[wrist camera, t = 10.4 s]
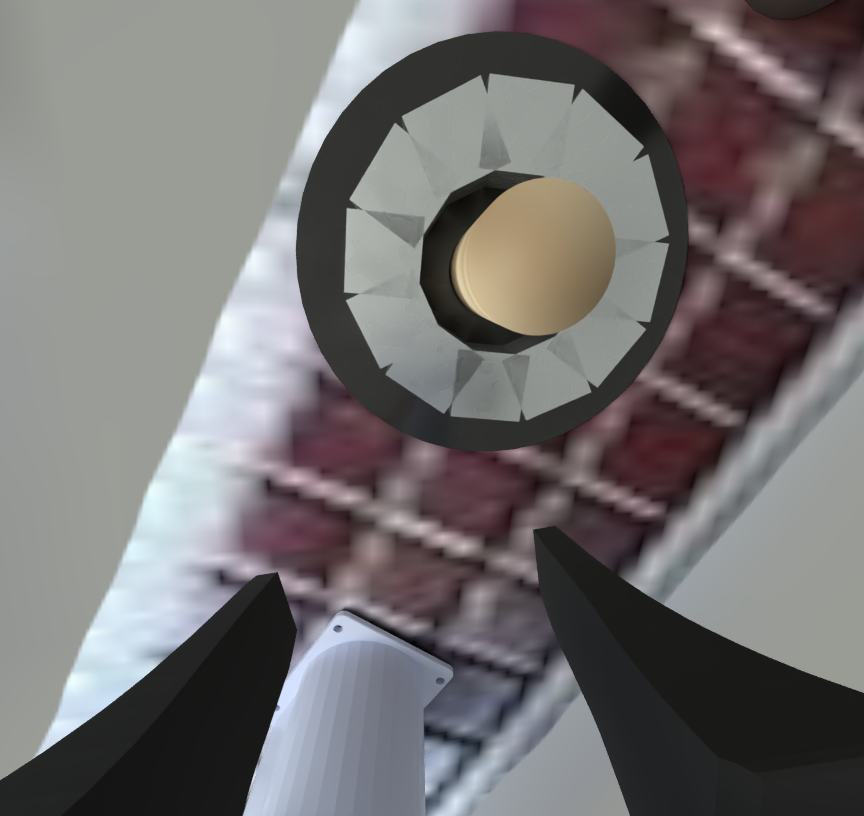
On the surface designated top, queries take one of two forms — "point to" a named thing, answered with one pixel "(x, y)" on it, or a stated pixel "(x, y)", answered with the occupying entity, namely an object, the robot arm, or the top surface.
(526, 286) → the peg
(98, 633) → the top surface
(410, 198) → the rosette
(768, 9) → the coffee cup
